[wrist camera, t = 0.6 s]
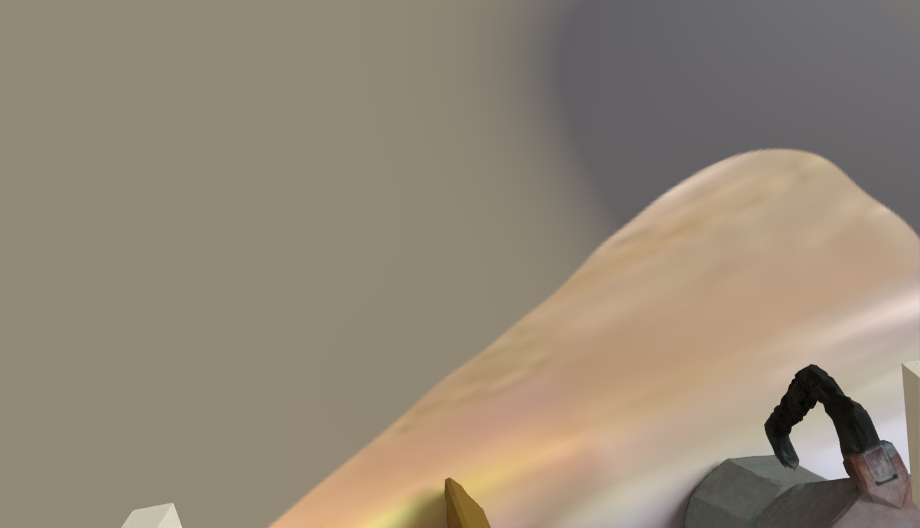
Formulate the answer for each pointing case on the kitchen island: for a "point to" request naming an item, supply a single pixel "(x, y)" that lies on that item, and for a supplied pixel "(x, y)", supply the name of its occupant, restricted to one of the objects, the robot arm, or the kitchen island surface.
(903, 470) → the moka pot
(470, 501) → the gun
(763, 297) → the kitchen island surface
